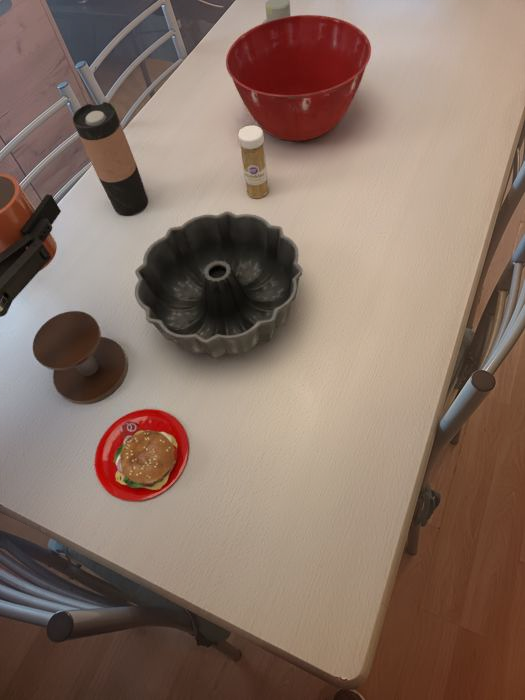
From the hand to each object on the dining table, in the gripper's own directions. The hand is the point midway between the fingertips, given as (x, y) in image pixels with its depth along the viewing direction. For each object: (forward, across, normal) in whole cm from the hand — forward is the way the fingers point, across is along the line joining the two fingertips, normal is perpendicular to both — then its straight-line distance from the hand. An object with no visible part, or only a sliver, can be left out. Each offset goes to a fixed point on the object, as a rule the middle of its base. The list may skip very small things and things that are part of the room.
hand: (24, 198), depth 65 cm
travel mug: (+27, +7, +27) cm, 39 cm away
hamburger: (-21, -18, +27) cm, 39 cm away
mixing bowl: (+59, -21, +27) cm, 68 cm away
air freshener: (+90, -8, +27) cm, 94 cm away
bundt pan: (+7, -22, +27) cm, 35 cm away
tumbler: (-5, 0, +6) cm, 7 cm away
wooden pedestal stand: (-10, -4, +27) cm, 29 cm away
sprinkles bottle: (+36, -18, +27) cm, 48 cm away
